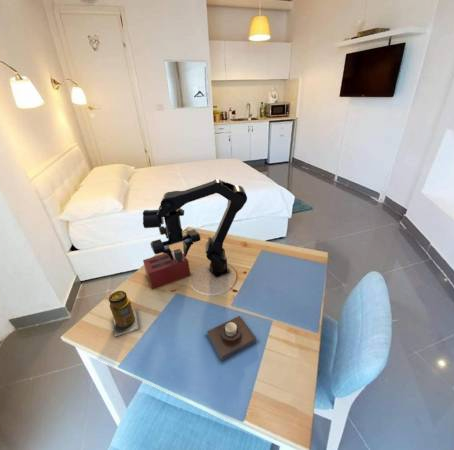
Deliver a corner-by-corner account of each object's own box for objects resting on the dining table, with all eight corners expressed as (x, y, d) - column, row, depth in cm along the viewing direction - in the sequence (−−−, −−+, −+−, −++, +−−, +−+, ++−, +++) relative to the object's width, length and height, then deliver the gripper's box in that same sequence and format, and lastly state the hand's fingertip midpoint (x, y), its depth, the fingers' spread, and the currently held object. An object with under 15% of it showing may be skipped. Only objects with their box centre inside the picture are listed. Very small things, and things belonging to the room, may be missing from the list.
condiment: (135, 310, 90) (127, 285, 84) (138, 328, 83) (130, 302, 77) (113, 318, 87) (103, 293, 81) (114, 337, 80) (104, 311, 75)
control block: (239, 320, 85) (239, 311, 83) (256, 342, 78) (256, 333, 76) (207, 335, 80) (206, 327, 78) (221, 361, 73) (221, 353, 71)
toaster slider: (180, 256, 105) (179, 248, 103) (183, 260, 102) (181, 252, 100) (175, 258, 104) (173, 250, 102) (177, 261, 101) (176, 253, 99)
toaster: (182, 262, 114) (179, 248, 110) (190, 275, 106) (188, 259, 102) (146, 275, 107) (142, 259, 103) (152, 289, 99) (148, 273, 96)
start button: (233, 324, 79) (233, 320, 78) (239, 333, 77) (238, 328, 76) (223, 329, 78) (222, 325, 77) (228, 338, 75) (228, 334, 74)
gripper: (188, 211, 105) (192, 242, 113) (143, 223, 97) (151, 255, 105) (199, 222, 97) (202, 255, 105) (150, 235, 89) (158, 270, 96)
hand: (178, 258), depth 103 cm, fingers open, 5 cm apart
